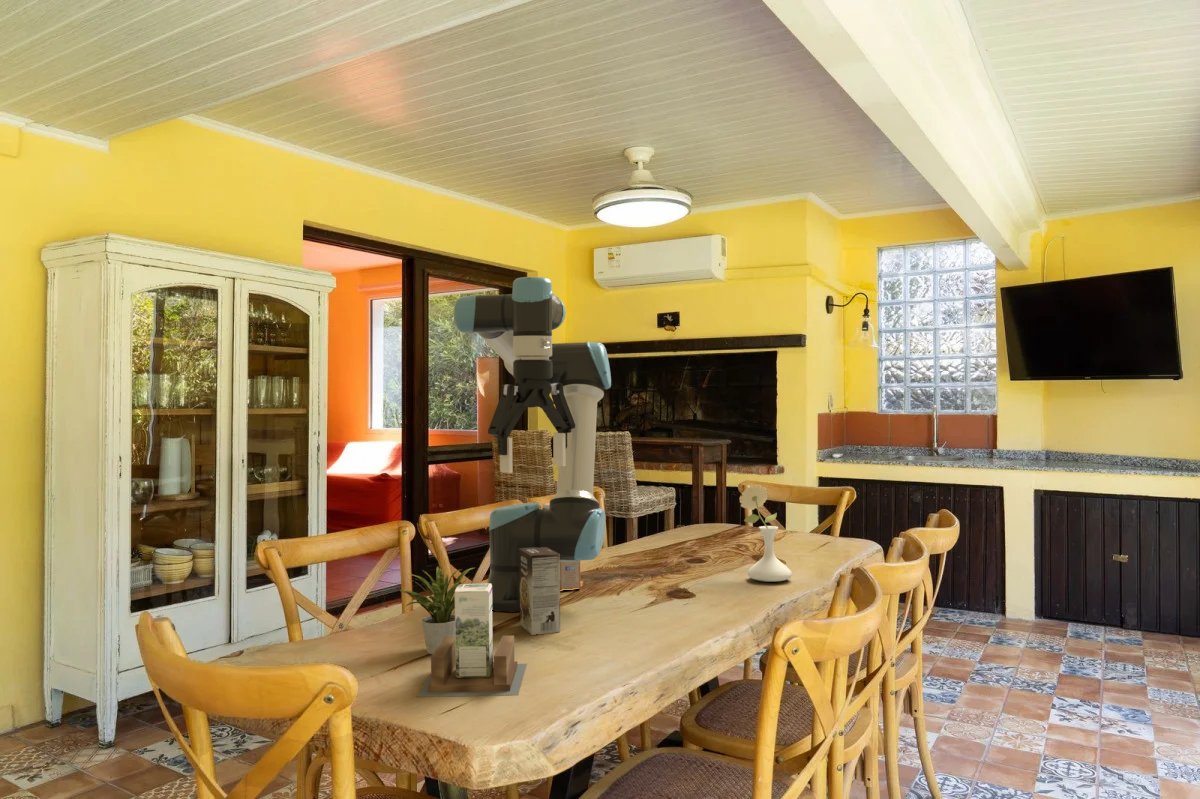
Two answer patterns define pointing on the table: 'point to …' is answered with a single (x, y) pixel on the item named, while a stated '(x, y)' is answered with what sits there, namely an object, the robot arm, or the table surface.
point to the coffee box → (539, 590)
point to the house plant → (437, 608)
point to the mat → (513, 691)
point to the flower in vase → (768, 564)
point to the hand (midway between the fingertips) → (533, 469)
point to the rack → (447, 681)
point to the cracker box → (568, 570)
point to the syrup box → (473, 630)
